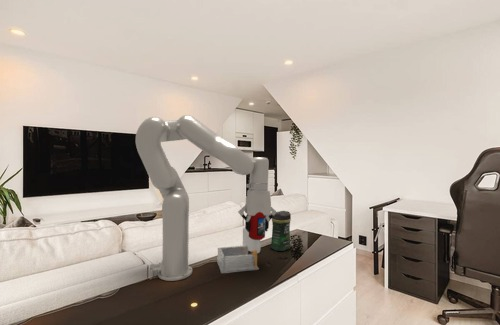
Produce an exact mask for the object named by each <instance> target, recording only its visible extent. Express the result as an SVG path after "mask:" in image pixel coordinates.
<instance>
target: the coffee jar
mask: <svg viewBox="0 0 500 325" xmlns="http://www.w3.org/2000/svg"><path fill="white" fill-rule="evenodd" d="M291 215H292V214H291V213H290V211H288V210H287V211H286V210H280V211H276V214H275V215H274V216H273V217H272V218H271V222H272V228H271V230H272V231H271V242H270V248H271V249H272V250H274V251H276V252H284V251H286V250H289V249H290V248H291V233H290V232H291V229H290V228H291V221H292V220H291Z"/></svg>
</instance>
